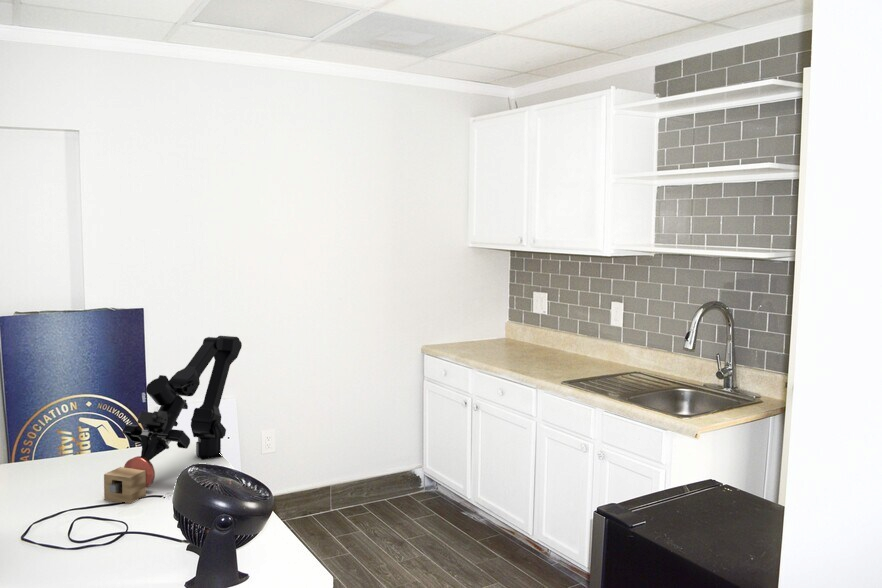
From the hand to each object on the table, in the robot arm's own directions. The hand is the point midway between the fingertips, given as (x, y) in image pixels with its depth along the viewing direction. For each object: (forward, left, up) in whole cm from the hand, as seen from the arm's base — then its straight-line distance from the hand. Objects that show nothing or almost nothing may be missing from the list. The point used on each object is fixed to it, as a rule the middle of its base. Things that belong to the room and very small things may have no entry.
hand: (142, 463), depth 190 cm
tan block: (+5, +4, -7) cm, 10 cm away
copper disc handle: (+5, +4, -7) cm, 9 cm away
